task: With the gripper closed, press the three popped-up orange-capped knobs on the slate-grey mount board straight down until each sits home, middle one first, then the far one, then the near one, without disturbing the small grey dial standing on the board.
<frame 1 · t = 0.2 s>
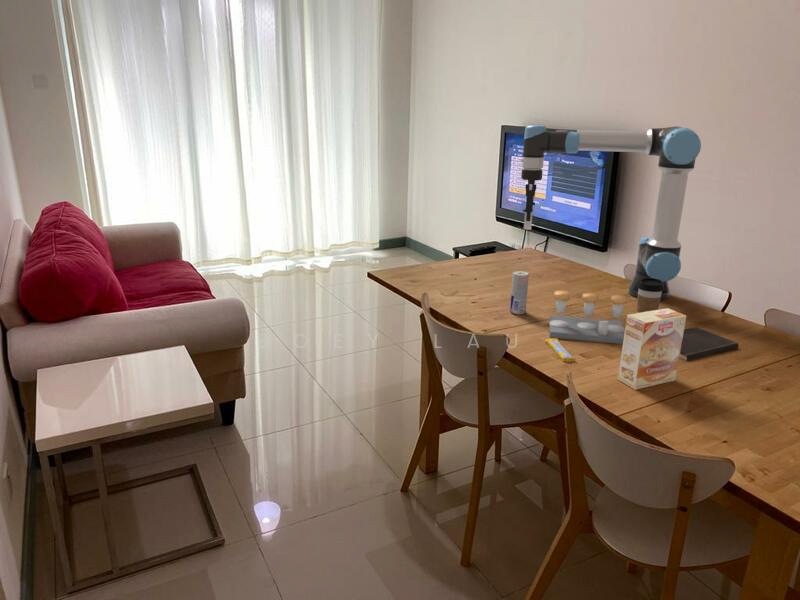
hand: (527, 225, 233), 28 cm above the table, tool pointing down, fingers open, 13 cm apart
knob near: (617, 306, 201), point 10 cm above the table, slide at 4.0 cm
knob middle: (589, 304, 202), point 10 cm above the table, slide at 4.0 cm
beverage can: (517, 313, 223), on the table
mount board: (586, 331, 206), on the table
coffee cup: (645, 322, 215), on the table
pot dial: (602, 334, 198), point 2 cm above the table, touching mount board
candy bar: (560, 353, 190), on the table
hardcover book: (690, 347, 196), on the table
knob far: (561, 302, 204), point 10 cm above the table, slide at 4.0 cm
coffeecake box: (646, 381, 171), on the table
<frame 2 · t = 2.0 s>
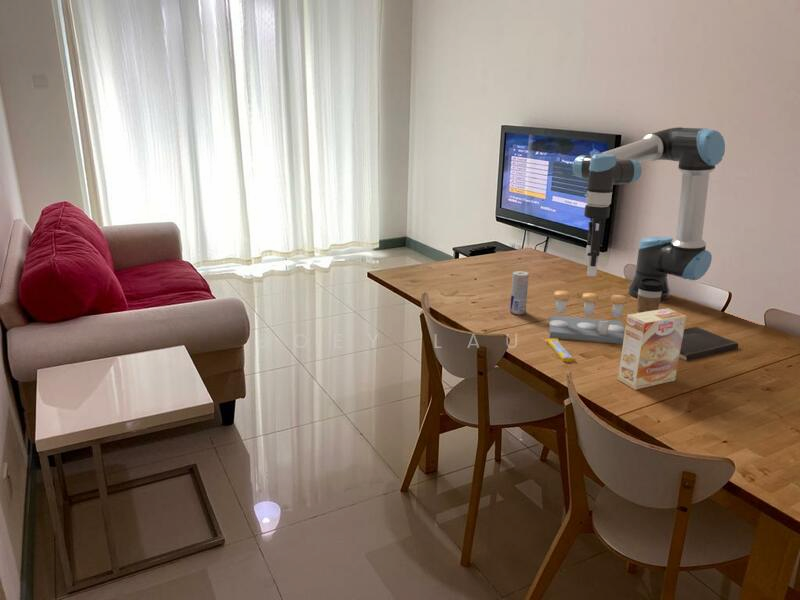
hand: (590, 270, 200), 21 cm above the table, tool pointing down, fingers open, 13 cm apart
nothing on the table moved.
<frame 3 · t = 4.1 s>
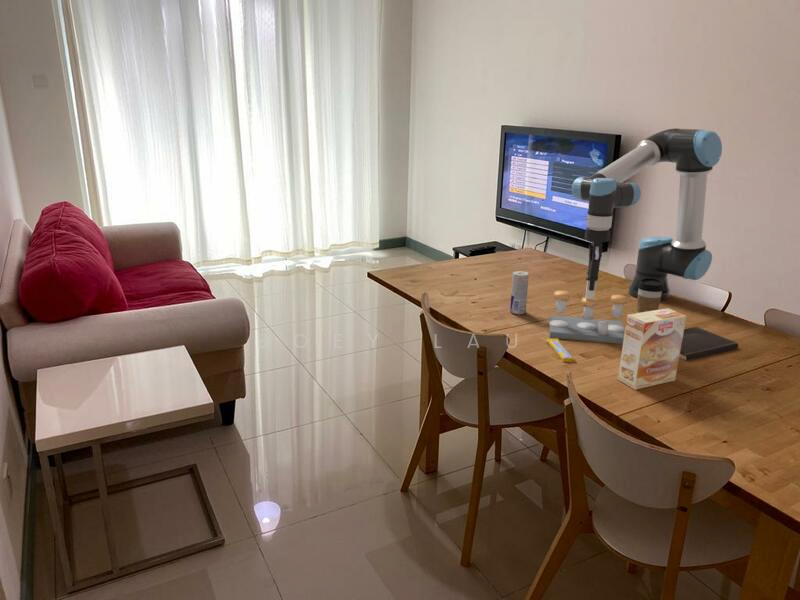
hand: (589, 298, 202), 12 cm above the table, tool pointing down, fingers closed
knob middle: (588, 308, 203), point 8 cm above the table, slide at 2.4 cm, touching gripper
everything else where it was.
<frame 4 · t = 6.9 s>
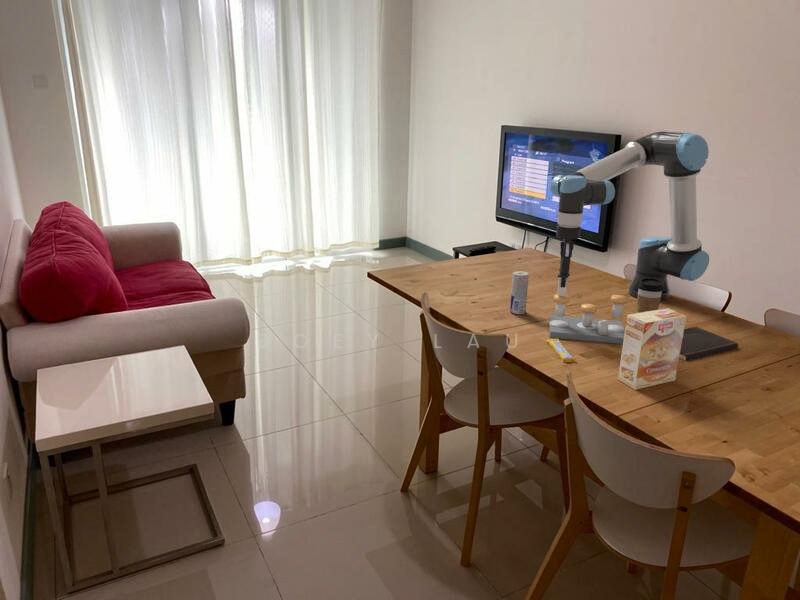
hand: (561, 295, 203), 12 cm above the table, tool pointing down, fingers closed
knob middle: (588, 315, 204), point 6 cm above the table, slide at 0.1 cm
knob far: (560, 305, 205), point 9 cm above the table, slide at 2.8 cm, touching gripper
everything else where it was.
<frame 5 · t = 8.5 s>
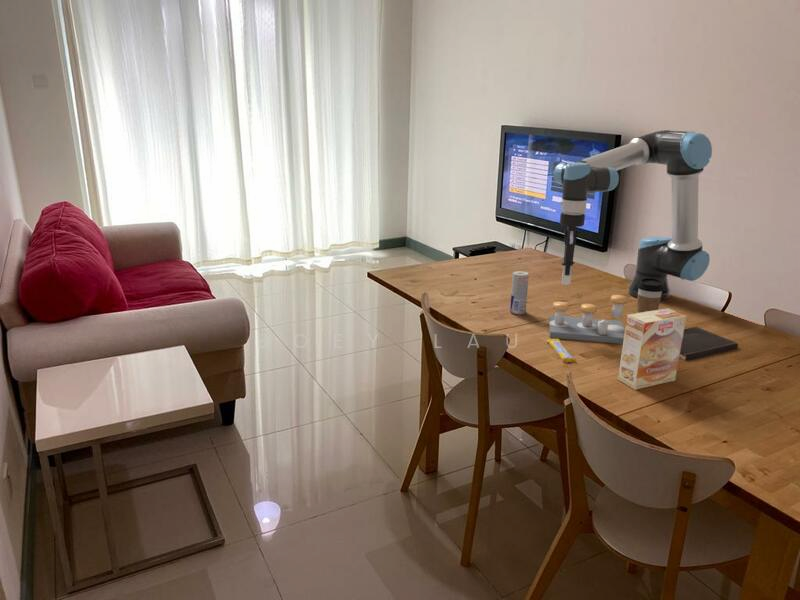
hand: (565, 283, 202), 16 cm above the table, tool pointing down, fingers closed
knob far: (560, 313, 205), point 6 cm above the table, slide at 0.1 cm
everything else where it was.
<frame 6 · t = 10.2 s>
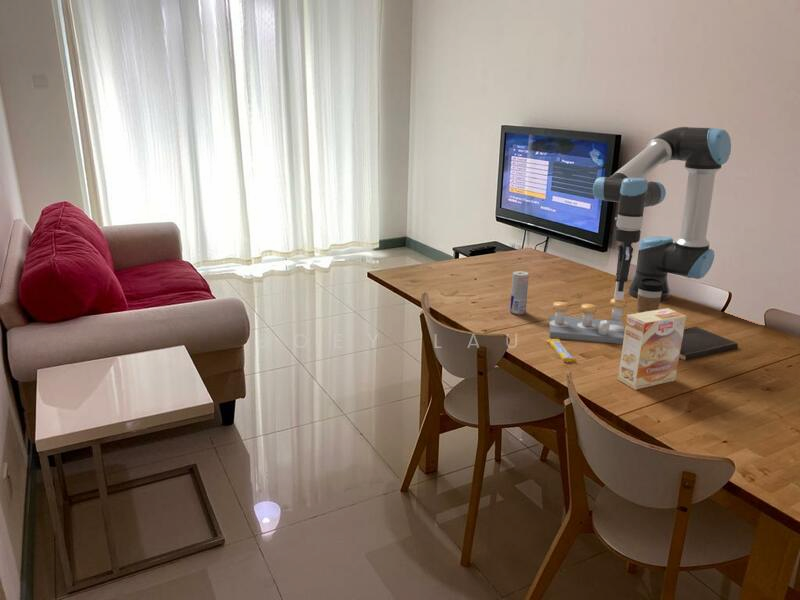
hand: (618, 299, 200), 12 cm above the table, tool pointing down, fingers closed
knob near: (617, 310, 201), point 9 cm above the table, slide at 2.8 cm, touching gripper
everything else where it was.
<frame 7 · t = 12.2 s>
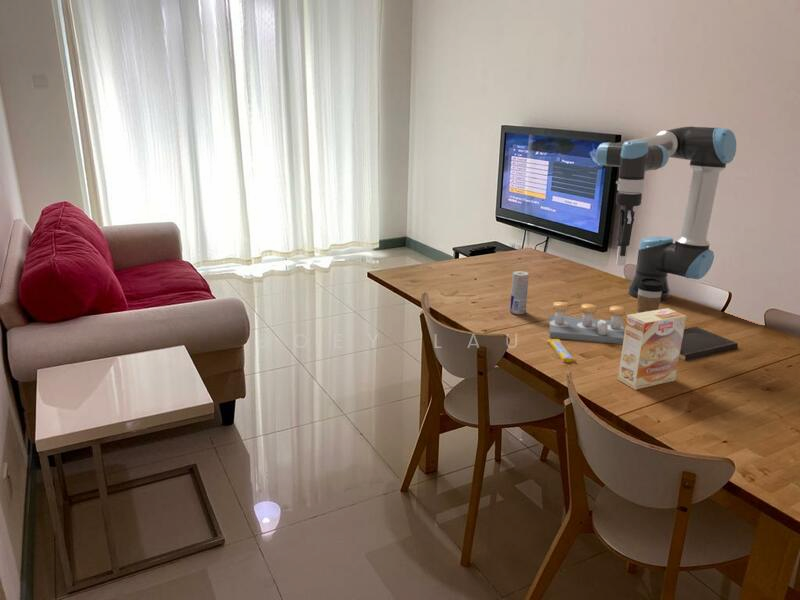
hand: (620, 264, 200), 23 cm above the table, tool pointing down, fingers closed
knob near: (616, 317, 202), point 6 cm above the table, slide at 0.1 cm
everything else where it was.
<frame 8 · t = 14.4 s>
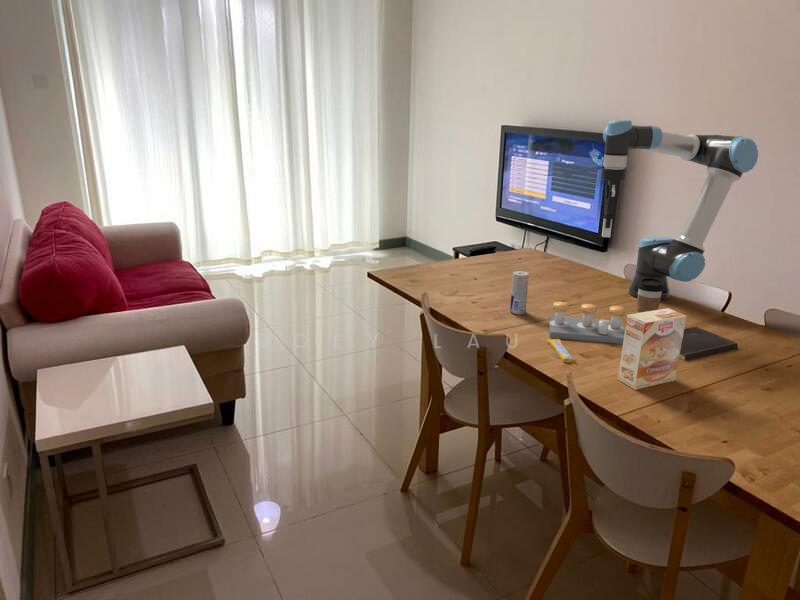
hand: (605, 236, 214), 28 cm above the table, tool pointing down, fingers closed
at the end: knob middle slide at 0.1 cm; knob far slide at 0.1 cm; knob near slide at 0.1 cm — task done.
